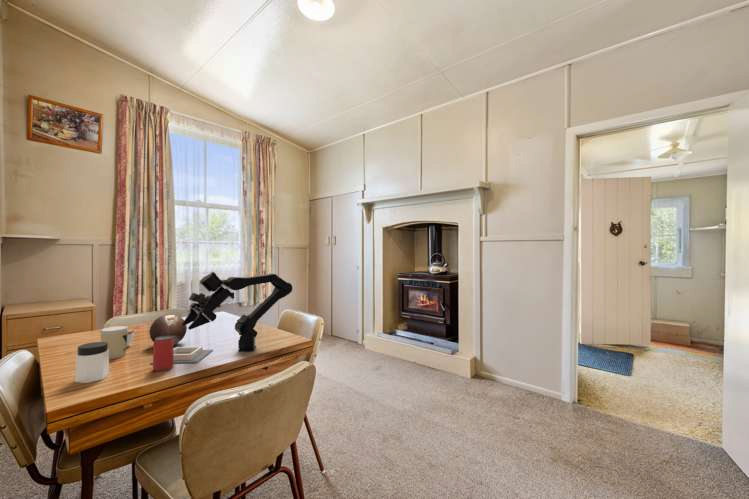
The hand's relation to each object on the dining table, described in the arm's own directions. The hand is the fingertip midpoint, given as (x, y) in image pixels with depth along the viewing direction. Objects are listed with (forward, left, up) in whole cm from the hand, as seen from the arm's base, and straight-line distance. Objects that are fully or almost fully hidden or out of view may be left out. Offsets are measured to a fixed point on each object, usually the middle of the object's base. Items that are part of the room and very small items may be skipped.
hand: (185, 327), depth 131 cm
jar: (+25, +14, -15) cm, 32 cm away
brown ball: (+19, -25, -15) cm, 34 cm away
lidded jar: (+40, -24, -15) cm, 48 cm away
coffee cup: (+34, -11, -15) cm, 38 cm away
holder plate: (+4, -7, -14) cm, 16 cm away
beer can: (+5, +6, -15) cm, 17 cm away
